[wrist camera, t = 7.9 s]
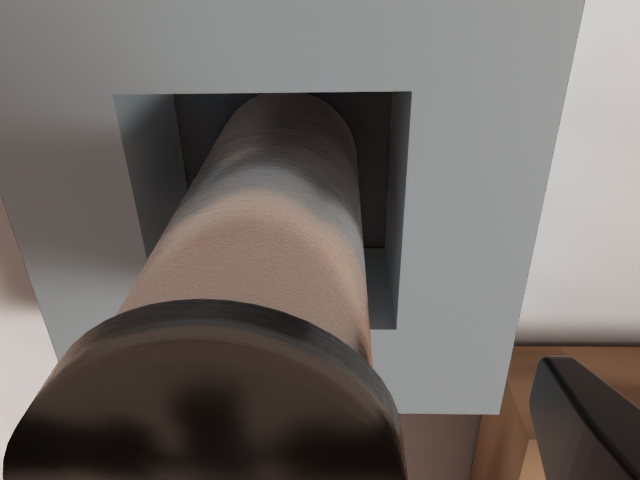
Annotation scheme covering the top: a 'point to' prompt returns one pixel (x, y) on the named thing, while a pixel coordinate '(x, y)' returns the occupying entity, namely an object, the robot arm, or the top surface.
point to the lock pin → (234, 329)
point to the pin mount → (514, 418)
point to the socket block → (295, 77)
